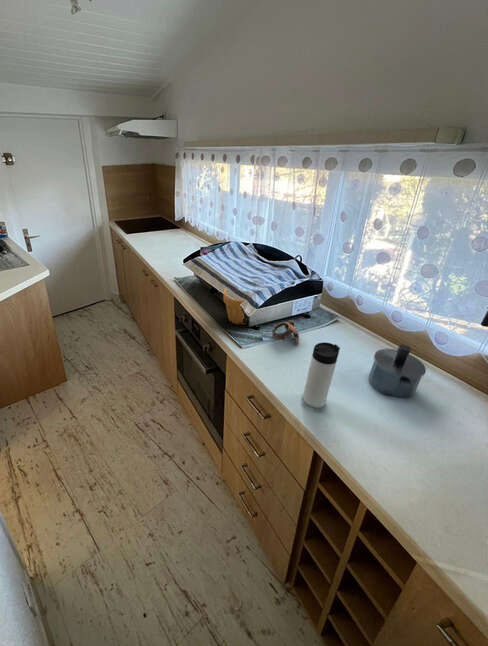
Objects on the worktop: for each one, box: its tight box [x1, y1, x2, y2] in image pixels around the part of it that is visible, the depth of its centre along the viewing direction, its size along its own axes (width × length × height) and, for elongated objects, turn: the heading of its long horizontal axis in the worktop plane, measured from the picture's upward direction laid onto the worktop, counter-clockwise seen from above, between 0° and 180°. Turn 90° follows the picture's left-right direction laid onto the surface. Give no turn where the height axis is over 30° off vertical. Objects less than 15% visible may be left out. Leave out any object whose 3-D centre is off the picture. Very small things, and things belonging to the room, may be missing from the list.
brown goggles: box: [271, 319, 300, 345], centre depth 119 cm, size 12×10×8 cm
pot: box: [368, 347, 422, 400], centre depth 95 cm, size 12×18×8 cm
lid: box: [373, 344, 427, 379], centre depth 92 cm, size 13×13×7 cm
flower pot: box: [223, 288, 246, 325], centre depth 131 cm, size 14×14×13 cm
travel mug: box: [302, 342, 341, 410], centre depth 87 cm, size 6×7×20 cm
